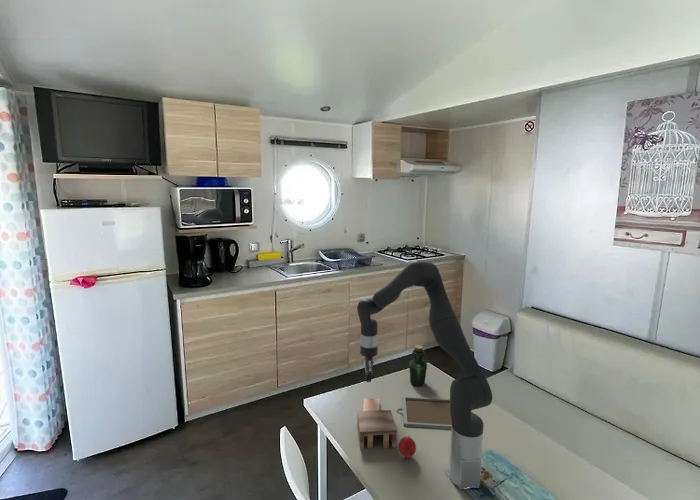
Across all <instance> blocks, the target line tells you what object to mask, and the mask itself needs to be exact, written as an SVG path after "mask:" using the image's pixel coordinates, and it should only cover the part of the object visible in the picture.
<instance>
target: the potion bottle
mask: <svg viewBox="0 0 700 500" xmlns="http://www.w3.org/2000/svg"><path fill="white" fill-rule="evenodd" d="M423 348H424V346H423V345H421V344H416V345H414V349H413V350H412V352H411V353H412V354H411V355H412V356H413V357H414V358H413V359H411V360H410V361H409V362H408V365H409V380H410V381H409V383H410V384H411V385H412V386H414V387H419V388H420V387H423V386H424V385H425V384H426V378H427V377H426V376H427V368H428V364H427V361H426V360H424V359H422V358H423V357H424V356H425V355H426V353H425V351H424V350H423Z"/></svg>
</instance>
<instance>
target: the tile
mask: <svg viewBox="0 0 700 500" xmlns="http://www.w3.org/2000/svg"><path fill="white" fill-rule="evenodd" d="M378 410H380V398H370V397H369V398H365V397H363V407H362V411H378Z"/></svg>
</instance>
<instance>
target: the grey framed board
mask: <svg viewBox="0 0 700 500" xmlns="http://www.w3.org/2000/svg"><path fill="white" fill-rule="evenodd" d="M395 411H396V413H397V414H399V415H401V416H402V418H403V419H402V421H403V426H404V427H410V428H411V427H413V428H414V427H415V428H428V429H429V428H430V429H443V430H451V428H452V420H451V415H450V398H442V397H426V396H424V397H423V396H422V397H421V396H409V395H408V396H405V395H401V407H398V408H396V409H395Z"/></svg>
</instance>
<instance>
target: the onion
mask: <svg viewBox="0 0 700 500" xmlns="http://www.w3.org/2000/svg"><path fill="white" fill-rule="evenodd" d="M397 446H398V451H399V453H400V455H402V457H404V458H405V459H408V458H411V457H413V456H414V455H415V453H416V451H417V446H416V442H415V440H414V439H413V438H412V437H410V435H406V436H404V437H402V438H401V439H400V440H399V442H398V445H397Z"/></svg>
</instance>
